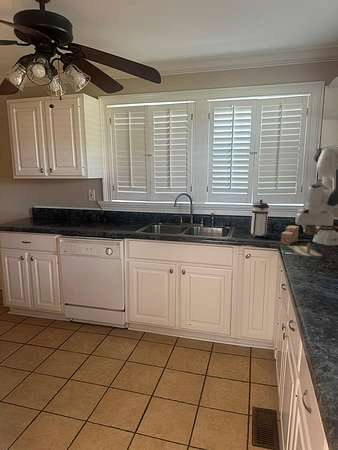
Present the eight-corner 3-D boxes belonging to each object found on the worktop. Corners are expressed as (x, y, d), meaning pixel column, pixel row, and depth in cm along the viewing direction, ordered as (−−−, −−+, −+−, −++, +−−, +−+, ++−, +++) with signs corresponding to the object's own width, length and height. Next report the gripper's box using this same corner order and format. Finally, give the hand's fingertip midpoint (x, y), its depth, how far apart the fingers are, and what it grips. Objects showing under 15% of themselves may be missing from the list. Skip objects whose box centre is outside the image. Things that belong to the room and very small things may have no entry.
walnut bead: (312, 232, 202) (313, 226, 201) (317, 234, 196) (318, 228, 195) (303, 232, 202) (304, 226, 201) (307, 234, 196) (308, 228, 195)
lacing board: (306, 248, 219) (307, 236, 218) (323, 258, 196) (324, 245, 194) (286, 247, 219) (287, 236, 217) (301, 257, 195) (302, 244, 194)
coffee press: (272, 236, 253) (275, 200, 247) (259, 239, 244) (262, 201, 238) (255, 232, 267) (258, 198, 261) (242, 234, 258) (245, 198, 252)
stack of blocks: (288, 246, 222) (290, 230, 220) (280, 245, 226) (281, 228, 224) (297, 241, 239) (299, 226, 237) (289, 240, 243) (290, 224, 240)
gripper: (326, 210, 199) (324, 231, 202) (295, 209, 199) (293, 230, 201) (332, 211, 193) (329, 233, 196) (299, 210, 193) (297, 232, 195)
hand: (310, 231), depth 198 cm, fingers closed on walnut bead, 6 cm apart
